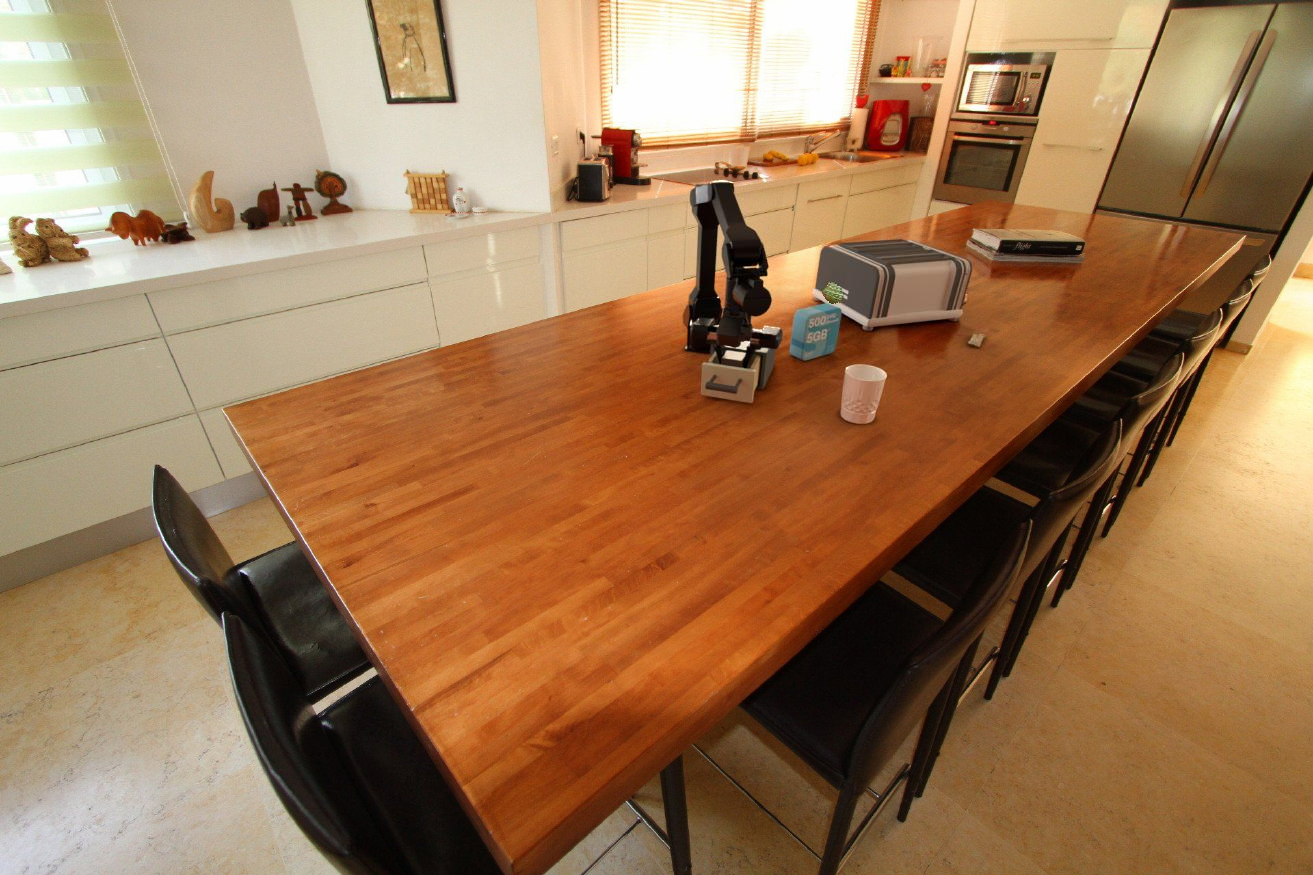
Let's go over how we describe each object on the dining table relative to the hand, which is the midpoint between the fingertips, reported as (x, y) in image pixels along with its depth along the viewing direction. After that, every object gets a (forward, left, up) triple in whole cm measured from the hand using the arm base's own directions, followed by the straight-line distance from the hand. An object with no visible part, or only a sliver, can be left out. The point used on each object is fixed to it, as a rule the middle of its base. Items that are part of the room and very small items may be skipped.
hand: (733, 370), depth 128 cm
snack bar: (+54, +52, -6) cm, 76 cm away
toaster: (+31, +72, -6) cm, 79 cm away
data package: (+14, +28, -6) cm, 32 cm away
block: (0, 0, -1) cm, 1 cm away
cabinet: (0, +10, -6) cm, 12 cm away
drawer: (0, -2, -5) cm, 5 cm away
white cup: (+27, -2, -6) cm, 28 cm away
